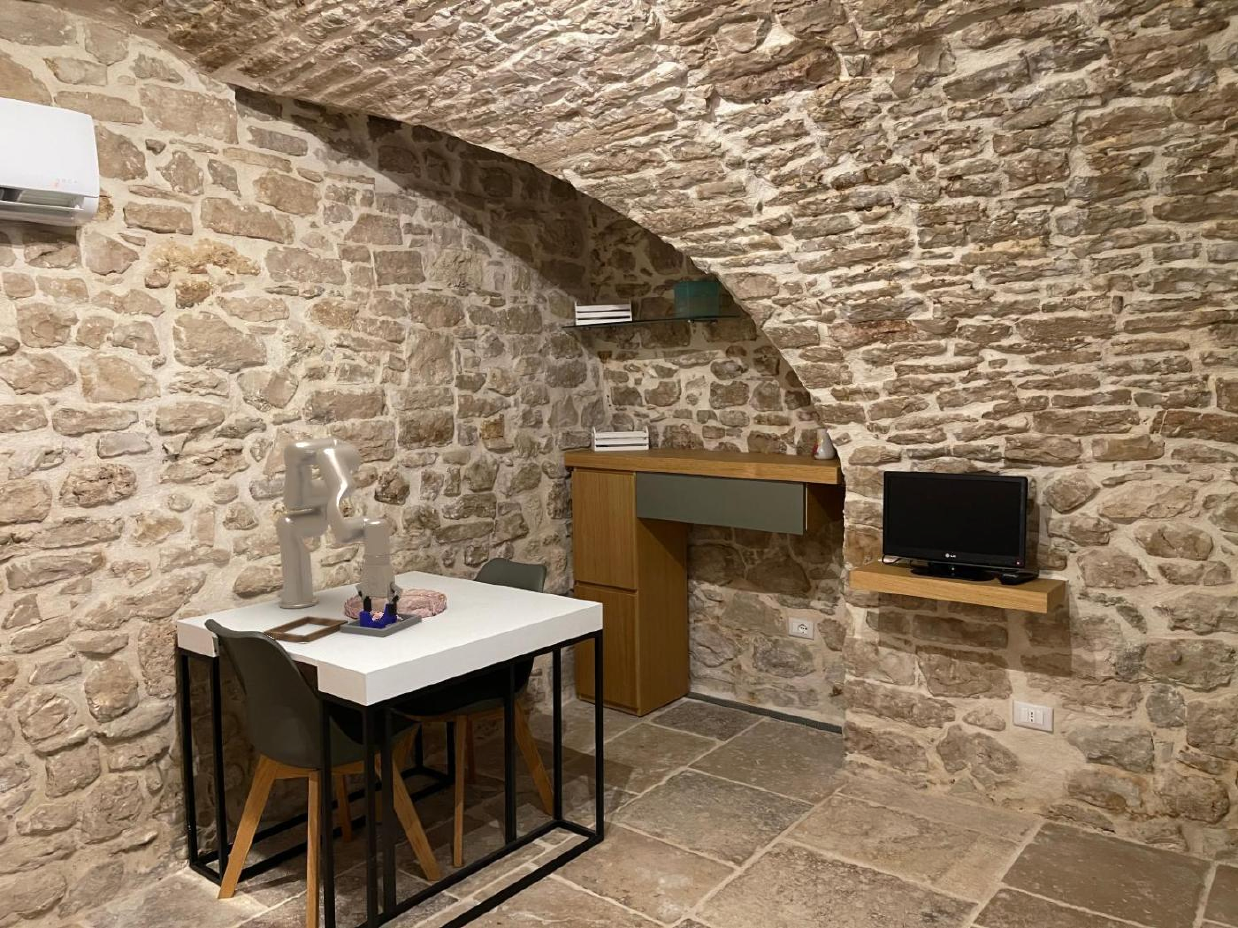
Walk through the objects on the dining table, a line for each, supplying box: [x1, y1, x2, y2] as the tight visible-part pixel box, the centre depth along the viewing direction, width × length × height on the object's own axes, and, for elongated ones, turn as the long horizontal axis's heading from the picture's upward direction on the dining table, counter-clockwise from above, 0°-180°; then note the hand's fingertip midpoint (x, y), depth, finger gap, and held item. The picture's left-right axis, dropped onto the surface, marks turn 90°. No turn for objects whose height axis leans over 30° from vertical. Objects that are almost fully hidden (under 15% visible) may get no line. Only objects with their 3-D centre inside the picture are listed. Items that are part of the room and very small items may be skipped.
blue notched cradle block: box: [358, 602, 398, 629], centre depth 293 cm, size 12×4×6 cm, turn 146°
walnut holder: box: [262, 615, 349, 643], centre depth 289 cm, size 16×18×2 cm
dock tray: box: [340, 610, 423, 638], centre depth 293 cm, size 16×18×2 cm
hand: (380, 613), depth 293 cm, fingers open, 9 cm apart
